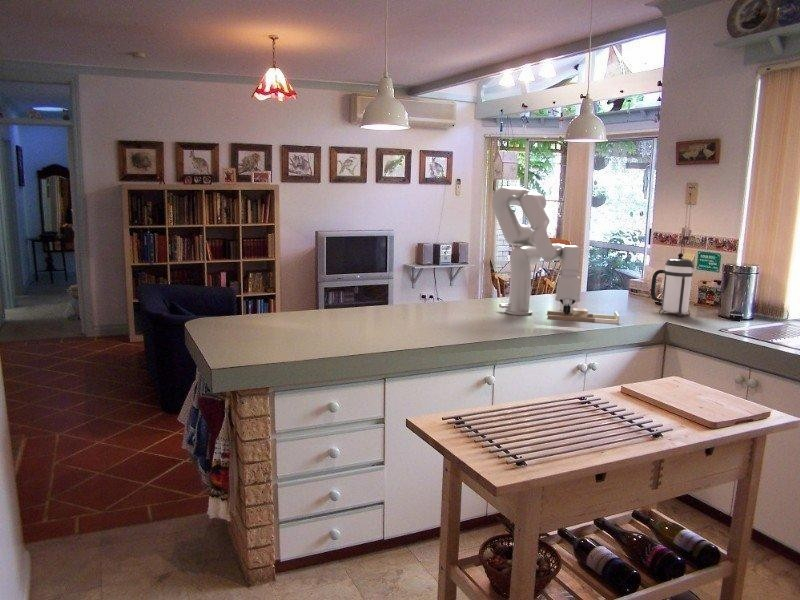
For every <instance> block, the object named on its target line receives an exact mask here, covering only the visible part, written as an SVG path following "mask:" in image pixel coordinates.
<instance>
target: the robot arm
mask: <svg viewBox="0 0 800 600" xmlns="http://www.w3.org/2000/svg"><path fill="white" fill-rule="evenodd" d="M546 205H547V200H546V197H545V196H544V195H543V194H541V193H540V192H536V191H533V190H529V189H526V188H523V187H519V186H510V185H509V186H501V187H499V188H497V190H496V191H495V192H494V193H493V195H492V199H491V207H492V211H493V213H494V215H495V217H496V220H497V222H498V225H499V228H500V230H501V233H502V235H503V237H504V240H505V242H506V243H507V244H509V245H511V246H516V247H514V248H513V249H512V250H511V252H510V254H509V264H510V277H509V278H510V279H509V280H510V282H509V295H508V302H506V303H501V302H500V303H499V304H498V308H500V309H504V312H505V313H506V314H508V315H515V316H530V315H531V316H532V314H533V311H532V310H530V302H531V300H530V299H531V290H532V289H531V288H532V287H531V286H532V269H531V266H534V265H536V264H538V263H540V262H541V259H542V260H544V261H546V262H553V261H561V262H560V264H561V265H560V269H558V270H557V271H556V272H557V274H559V275H558V278H557V283H556V290H555V291H556V292H555V293H556V295H555V298H554V300H555V301H557V302H559V303H560V302H561V303H562V304H563V305H564V307H563V311H562V312H565V315H566V314H567V315H568V314H569V313H570V308H571V305H572V304H573V303H575V302H577V303H580V301H581V298H580V297H581V278H580V276H579V267H580V256H581V255H580V254H581V249H580V247H579V246H578V245H572V244H568V245H566V244H562V243H552V242H551V240H550V238H549V235H548V231H547V230H548V226H549V224H550V218H549V216H548V215H547V213H546V211H545V208H546ZM511 206H518V207H520V208H521V210H522V212H523V213H524V216H525V217H526V220H527V221H528V223H529V225H530V227H529V225H526V224H523V223H522V224H520V222H519V221H518V219H517V215H516V214H515V212H514V210H513V209H512V208H511ZM562 299H563V300H562ZM566 299H569V303H568V305H567V304H566Z"/></svg>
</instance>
